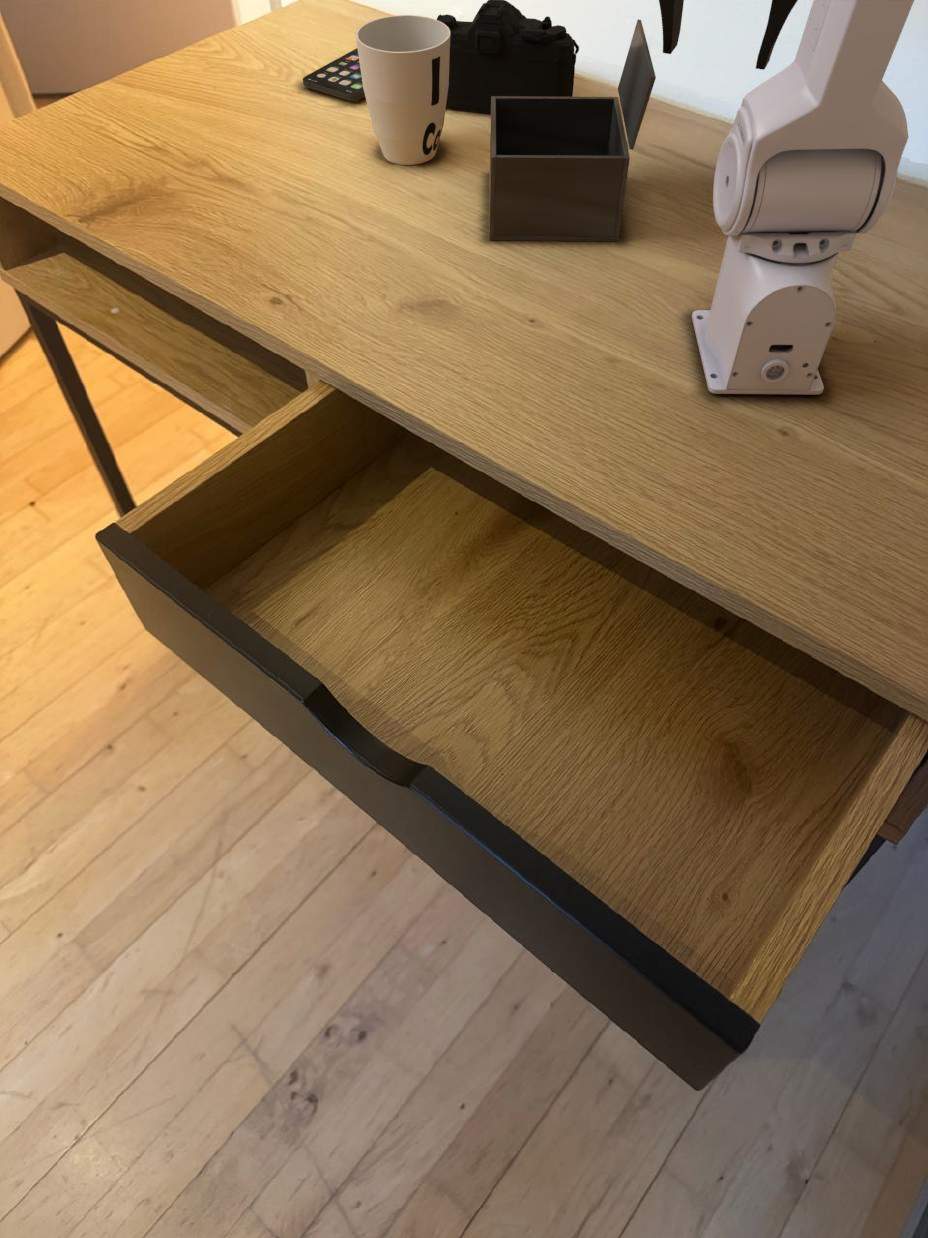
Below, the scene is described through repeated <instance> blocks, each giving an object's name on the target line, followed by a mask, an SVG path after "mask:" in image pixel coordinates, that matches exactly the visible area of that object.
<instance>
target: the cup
mask: <svg viewBox="0 0 928 1238" xmlns="http://www.w3.org/2000/svg"><path fill="white" fill-rule="evenodd" d="M355 40H356V48H358V55H359V62H360V69H361V76H362V83H363V89H364V93H365V97H364V98H365V101H366V106H367V109H368V113H369V117H370V121H371V126H372V129H373V132H374V134H375V137H376V139H377V142H378V145H379V148H380V150H381V153H382V155H383V158H385V159H386V160H387V161H388V162H391V163H393V164H396V165H401V166H402V165H403V166H413V165H420V164H423V163H426V162H428V161H430V160H432V159H433V158H434V157H435V156H436V155H437V151H438V147H439V144H440V140H441V135H442V131H443V128H444V123H445V115H446V109H447V108H446V101H447V94H448V86H449V60H450V29H449V28H448V26H447V25H445V24H444V23H442V22H440V21H438V20H437V19H436V18H431V17H428V16H422V15H413V14H405V15H404V14H400V15H399V14H398V15H390V16H382V17H379V18H376V19H375V18H374V19H372V20H370V21H368V22H366V23H364V24H362V25H361V26H360V27H358V28H357V30H356V32H355Z"/></svg>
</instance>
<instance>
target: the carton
mask: <svg viewBox="0 0 928 1238" xmlns="http://www.w3.org/2000/svg"><path fill="white" fill-rule="evenodd" d="M489 129H490V130H489V131H490V133H489V134H490V135H489V137H490V138H489V198H488V199H489V201H488V202H489V203H488V204H489V205H488V206H489V208H488V209H489V216H488V217H489V219H488V220H489V222H488V223H489V225H488V227H489V229H488V230H489V231H488V232H489V233H488V235H489V237H488V239H489V241H521V242H522V241H523V242H524V241H525V242H526V241H529V242H530V241H531V242H532V241H533V242H534V241H535V242H537V241H539V242H542V241H543V242H544V241H545V242H547V241H548V242H554V241H555V242H619V238H620V233H621V232H620V231H621V225H622V219H623V217H622V216H623V209H624V202H625V197H626V196H625V195H626V190H627V189H626V188H627V182H628V174H629V168H630V161H631V157H630V152H629V145H628V140H627V135H626V129H625V124H624V119H623V114H622V109H621V104H620V98H619V96H572V97H539V96H491V114H490V127H489Z"/></svg>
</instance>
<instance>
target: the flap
mask: <svg viewBox="0 0 928 1238" xmlns="http://www.w3.org/2000/svg"><path fill="white" fill-rule="evenodd" d="M654 68H655V67H654V65H653V61H652V57H651V54H650V49H649V45H648V41H647V37H646V33H645V29H644V26H643V22H642V19H637V21H636V23H635V28H634V31H633V35H632V38H631V41H630V45H629V48H628V52H627V55H626V59H625V62H624V65H623V69H622V72H621V76H620V79H619V83H618V86H617V91H618V98H619V103H620V108H621V114H622V119H623V124H624V129H625V134H626V139H627V144H628V149H629V150H634V148H635V145H636V142H637V138H638V136H639V132H640V129H641V127H642V123H643V120H644V117H645V113H646V110H647V107H648V104H649V101H650V97H651V95H652V91H653V88H654V85H655V82H656V78H657V76H656V72H655V69H654Z"/></svg>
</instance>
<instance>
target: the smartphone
mask: <svg viewBox="0 0 928 1238" xmlns="http://www.w3.org/2000/svg"><path fill="white" fill-rule="evenodd" d="M302 85H303V86H304V87H305V88H306V89H307V88H308V89H311V90H314V91H317V92H320V93H324V94H326V95H329V96H330V95H331V96H334V97H336V98H340V99H343V100H346V101H351V102H356V101H357V102H358V101H360V100H362V99H364V98H366V97H365V93H364V89H363V83H362V76H361V69H360V62H359V55H358V48H357V47H356V48H355V49H352V50H351V51H349V52H347V53H345V54H344V55H342V56H340V57H338V58H336V59H334V60H333V61H330V62H329V63H327V64H325V65H323V66H322V67H320V68H318V69H316V70H314V71H312V72H310V73H308V74H307V75H305V76H303V77H302Z"/></svg>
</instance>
